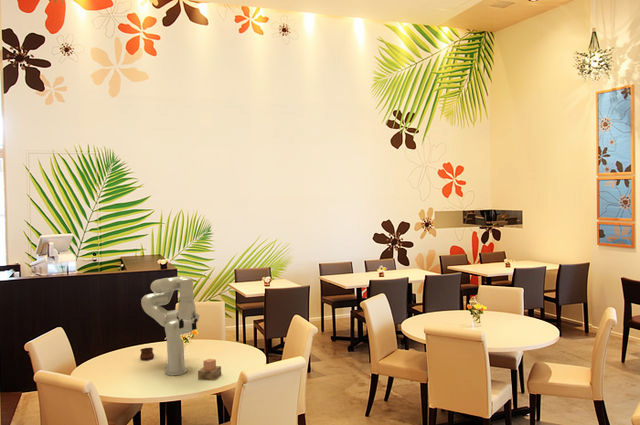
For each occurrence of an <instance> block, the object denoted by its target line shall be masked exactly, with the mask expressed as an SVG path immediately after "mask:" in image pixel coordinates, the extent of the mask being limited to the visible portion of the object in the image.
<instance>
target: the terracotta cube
mask: <svg viewBox="0 0 640 425" xmlns="http://www.w3.org/2000/svg"><path fill="white" fill-rule="evenodd" d="M216 366H217V360H216V359H214V358H207V359H205V360H203V367H204V370H209V371H211V370H213V369H215V368H216Z"/></svg>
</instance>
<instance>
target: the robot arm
mask: <svg viewBox="0 0 640 425" xmlns="http://www.w3.org/2000/svg"><path fill="white" fill-rule="evenodd" d="M150 290H151V291H152V292H153V293H148V294H144V296H143V297H142V298H141V300H140V301H141V302H140V304H141V307H142V310H143V311H144V312H145V313H146V314H147V315H148V316H150V317H151V318H152V319H154V320H155V321H156V322H157V323H158V324H159V325H160V326H162V327H163V328H164V331H165V336H166V337H165V338H166V347H167V348H166V349H167V350H166V351H167V352H166V353H167V363H165V365H164V366H163V368H165V369H166V370H165V375H167V376H180V375H184V374H186V373H187V372H188V368H187V367H185V344H184V340H183V338H182V337H181V335H184V334H188V333H191V332H193V331H196V330H198V329H197V328H198V327H197V323H198V321H199V319H200V315H199V314H198V313H197V309H196V303H195V301H194V280H193V278H192V277H188V276H185V275H181V276H173V277H172V276H171V277H165V278H159V279H155V280H154V281H153V280H152V282H151V284H150ZM178 290H179V302H178V305H177V306H178V308H177V309H173V310H167V309H165V308H164V307H162V306H165V305H167V304H169V303H170V301H171V299H172V296H173V294H174V292H175V291H178Z"/></svg>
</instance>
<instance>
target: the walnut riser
mask: <svg viewBox="0 0 640 425" xmlns="http://www.w3.org/2000/svg"><path fill="white" fill-rule="evenodd" d="M221 375H222V366H221V365H219V366H218V365H216V368H215V369H213V370H211V371H209V370H204V366H203V367H201V368H200V369H199V370H197V379H198V380H201V381H203V380H206V381H207V380H208V381H209V380H211V381H215V380H216V379H218V378H219V377H220V376H221Z"/></svg>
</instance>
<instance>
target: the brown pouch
mask: <svg viewBox="0 0 640 425" xmlns="http://www.w3.org/2000/svg"><path fill="white" fill-rule="evenodd" d="M153 350H154V348H153V347H145V348H141V349H140V354H139V355H140V356H139V359H140V361H142V360H143V362H144V361H151V360H153V359H154V357H155V353H154V352H153Z"/></svg>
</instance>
